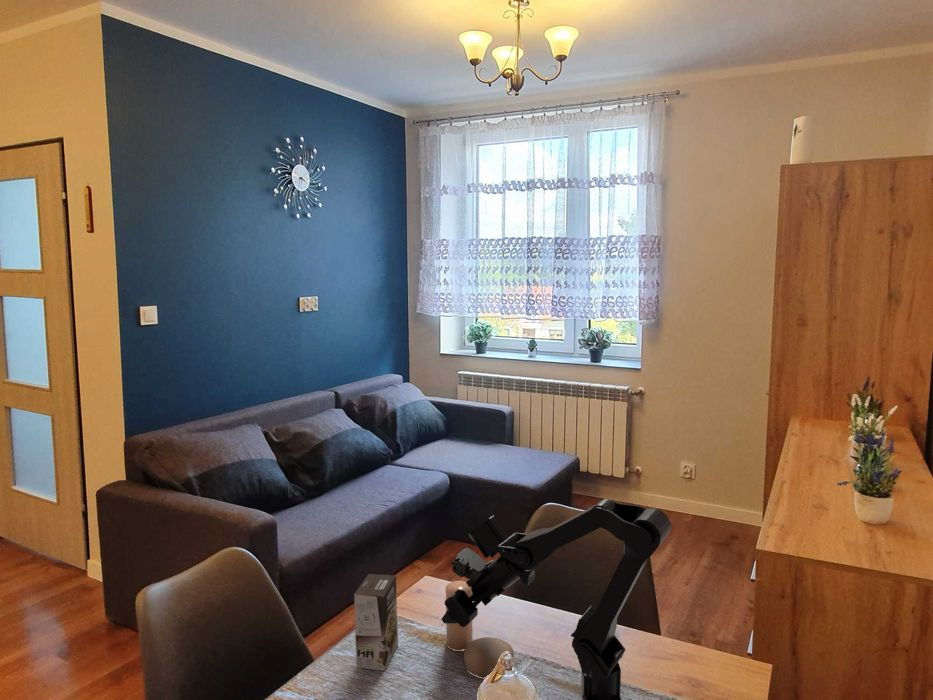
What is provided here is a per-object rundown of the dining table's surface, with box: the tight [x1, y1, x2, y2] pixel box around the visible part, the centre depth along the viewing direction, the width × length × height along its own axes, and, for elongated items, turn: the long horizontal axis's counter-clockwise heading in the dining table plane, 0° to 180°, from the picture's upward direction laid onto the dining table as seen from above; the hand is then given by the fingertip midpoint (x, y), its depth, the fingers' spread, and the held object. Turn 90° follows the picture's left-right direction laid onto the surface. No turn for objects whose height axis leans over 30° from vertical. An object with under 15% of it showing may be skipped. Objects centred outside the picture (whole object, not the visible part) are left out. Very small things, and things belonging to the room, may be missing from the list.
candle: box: [445, 580, 474, 650], centre depth 140 cm, size 6×6×13 cm
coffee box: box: [353, 573, 399, 672], centre depth 136 cm, size 9×6×16 cm
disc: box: [463, 636, 514, 678], centre depth 134 cm, size 10×10×3 cm
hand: (454, 610), depth 140 cm, fingers open, 9 cm apart
